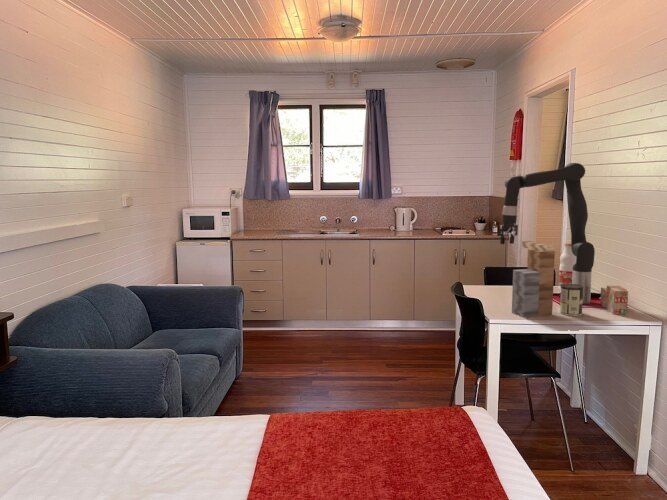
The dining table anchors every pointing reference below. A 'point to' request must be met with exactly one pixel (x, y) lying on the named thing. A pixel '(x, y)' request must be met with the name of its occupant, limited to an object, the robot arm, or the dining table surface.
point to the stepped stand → (534, 285)
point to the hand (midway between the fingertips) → (507, 243)
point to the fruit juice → (566, 265)
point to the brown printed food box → (615, 299)
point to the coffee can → (571, 299)
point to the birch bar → (538, 246)
